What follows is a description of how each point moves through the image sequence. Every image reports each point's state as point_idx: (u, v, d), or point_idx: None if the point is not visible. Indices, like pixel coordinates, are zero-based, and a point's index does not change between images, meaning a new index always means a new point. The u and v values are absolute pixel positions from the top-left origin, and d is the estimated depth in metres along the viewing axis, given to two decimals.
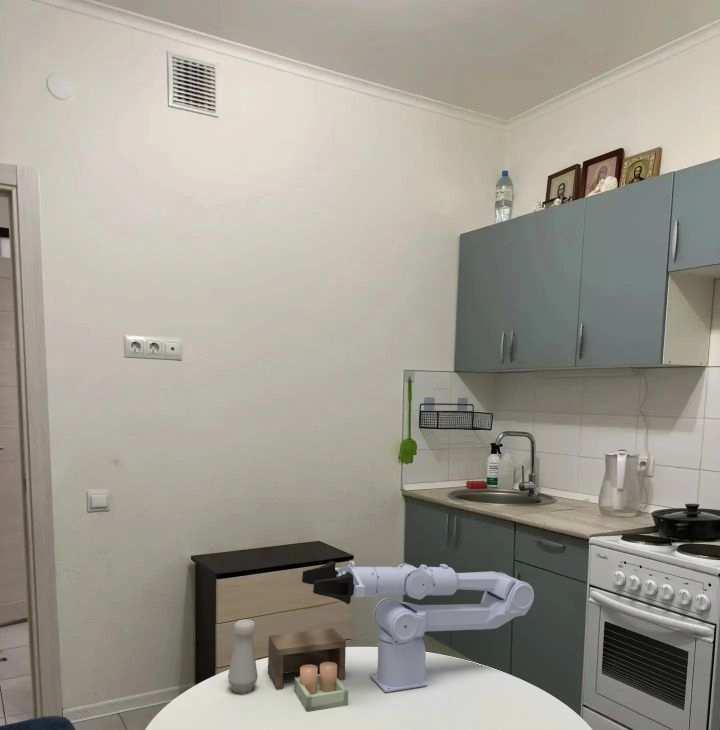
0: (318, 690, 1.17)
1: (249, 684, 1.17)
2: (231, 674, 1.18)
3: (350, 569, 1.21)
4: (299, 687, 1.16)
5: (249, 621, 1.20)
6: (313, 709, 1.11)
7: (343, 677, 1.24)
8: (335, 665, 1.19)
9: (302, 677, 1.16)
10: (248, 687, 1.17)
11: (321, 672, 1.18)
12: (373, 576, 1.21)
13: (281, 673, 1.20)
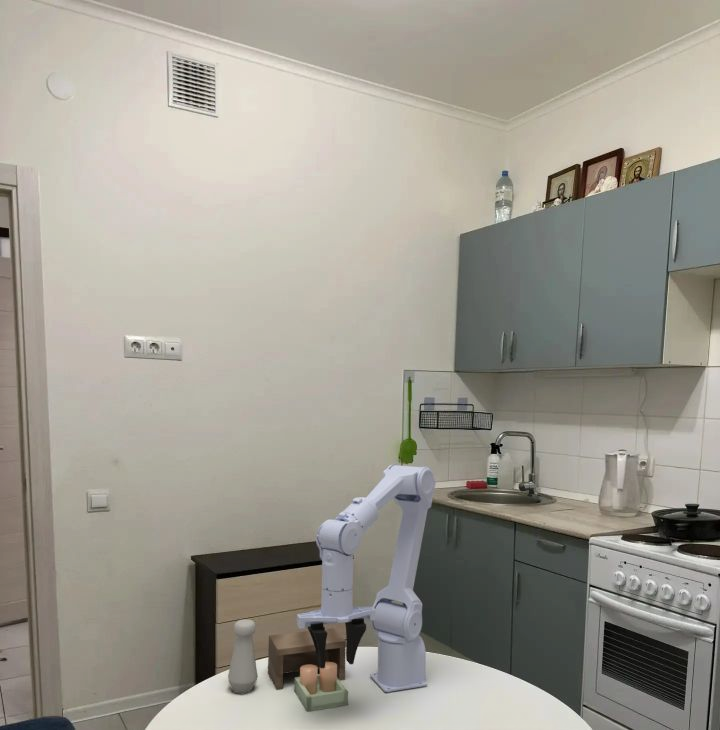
0: (318, 690, 1.17)
1: (249, 684, 1.17)
2: (231, 674, 1.18)
3: None
4: (299, 687, 1.16)
5: (249, 621, 1.20)
6: (313, 709, 1.11)
7: (343, 677, 1.24)
8: (335, 665, 1.19)
9: (302, 677, 1.16)
10: (248, 687, 1.17)
11: (321, 672, 1.18)
12: (352, 592, 1.10)
13: (281, 673, 1.20)
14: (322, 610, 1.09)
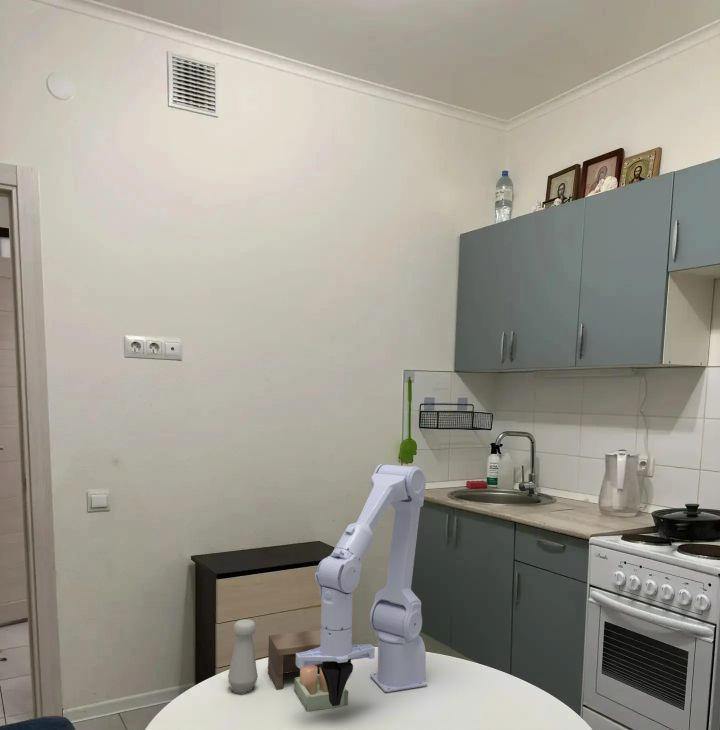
0: (318, 690, 1.17)
1: (249, 684, 1.17)
2: (231, 674, 1.18)
3: None
4: (299, 687, 1.16)
5: (249, 621, 1.20)
6: (313, 709, 1.11)
7: None
8: None
9: (302, 677, 1.16)
10: (248, 687, 1.17)
11: (321, 672, 1.18)
12: (351, 630, 1.09)
13: (281, 673, 1.20)
14: (321, 649, 1.08)
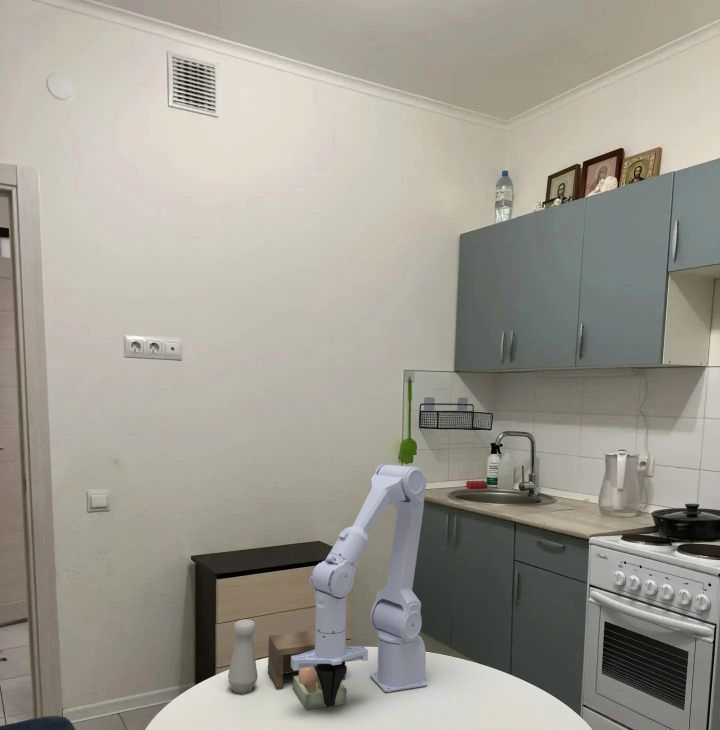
0: (317, 689, 1.18)
1: (249, 684, 1.17)
2: (231, 674, 1.18)
3: None
4: (298, 686, 1.16)
5: (249, 621, 1.20)
6: (312, 707, 1.12)
7: None
8: None
9: (300, 676, 1.17)
10: (248, 687, 1.17)
11: None
12: (345, 633, 1.12)
13: (281, 673, 1.20)
14: (315, 652, 1.11)
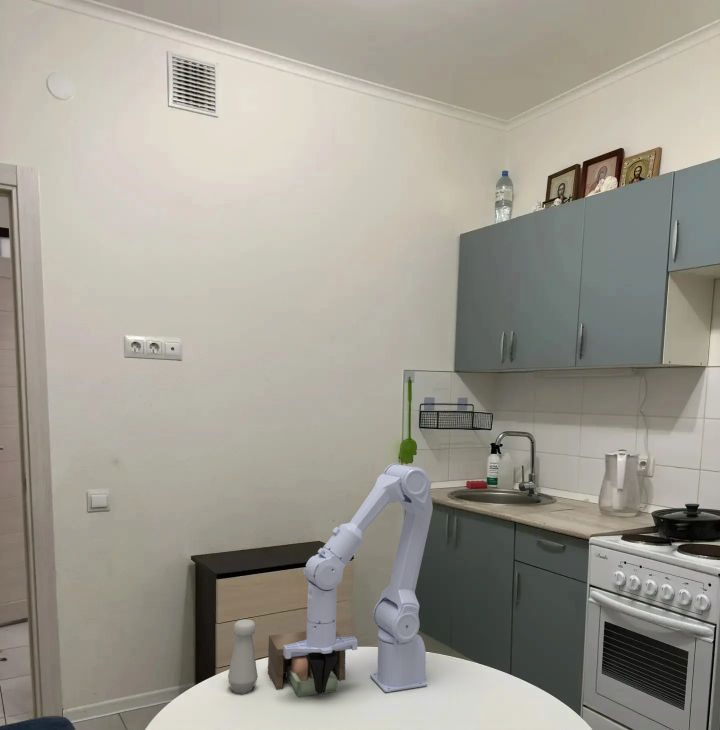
0: (309, 677, 1.23)
1: (249, 684, 1.17)
2: (231, 674, 1.18)
3: None
4: (290, 674, 1.21)
5: (249, 621, 1.20)
6: (303, 695, 1.17)
7: (343, 677, 1.24)
8: None
9: (293, 665, 1.22)
10: (248, 687, 1.17)
11: None
12: (335, 624, 1.17)
13: (281, 673, 1.20)
14: (307, 641, 1.16)
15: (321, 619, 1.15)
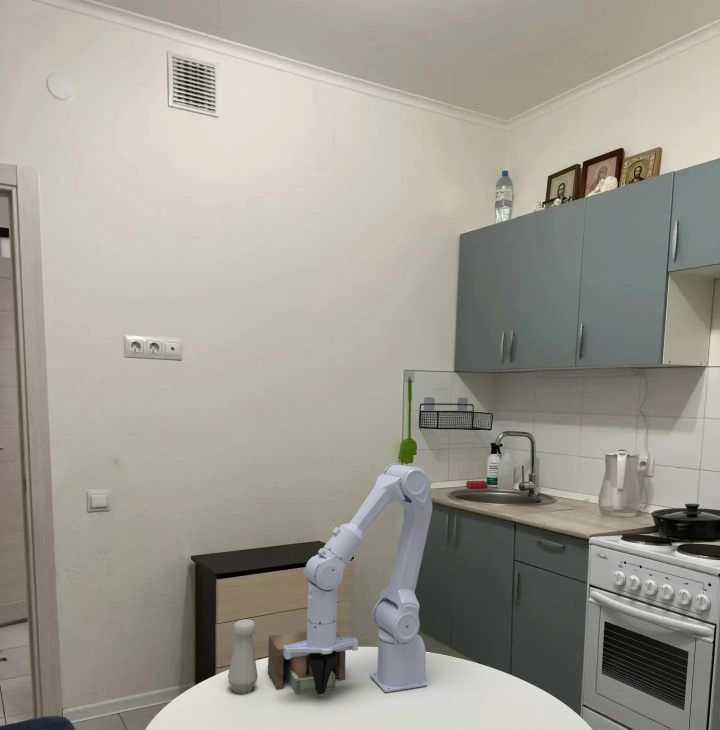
0: (307, 675, 1.24)
1: (249, 684, 1.17)
2: (231, 674, 1.18)
3: None
4: (289, 672, 1.23)
5: (249, 621, 1.20)
6: (302, 692, 1.18)
7: (343, 677, 1.24)
8: None
9: (291, 662, 1.23)
10: (248, 687, 1.17)
11: None
12: (335, 624, 1.17)
13: (281, 673, 1.20)
14: (307, 641, 1.16)
15: (322, 619, 1.15)
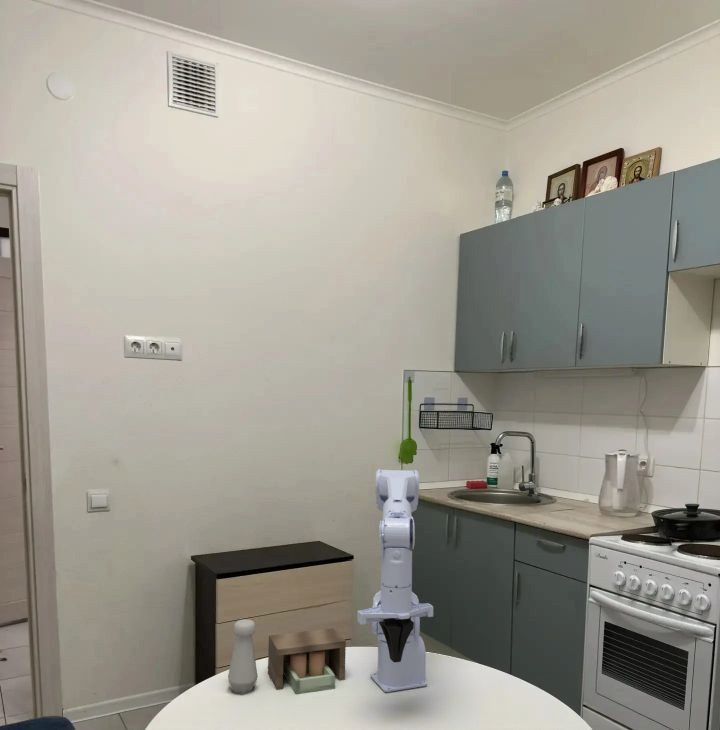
0: (307, 675, 1.24)
1: (249, 684, 1.17)
2: (231, 674, 1.18)
3: None
4: (289, 672, 1.23)
5: (249, 621, 1.20)
6: (302, 692, 1.18)
7: (343, 677, 1.24)
8: (323, 651, 1.26)
9: (291, 662, 1.23)
10: (248, 687, 1.17)
11: (310, 658, 1.24)
12: (411, 589, 1.11)
13: (281, 673, 1.20)
14: (381, 607, 1.10)
15: (410, 581, 1.10)
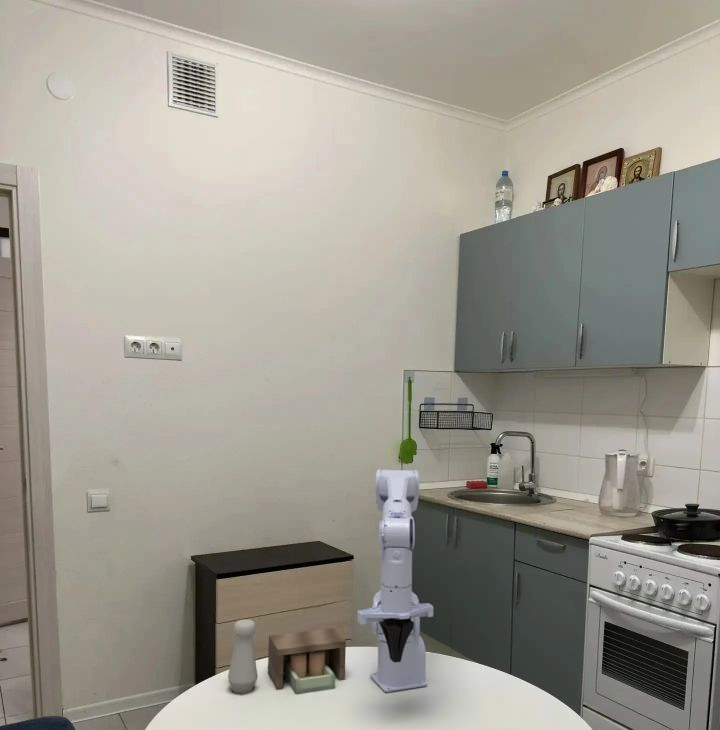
0: (307, 675, 1.24)
1: (249, 684, 1.17)
2: (231, 674, 1.18)
3: None
4: (289, 672, 1.23)
5: (249, 621, 1.20)
6: (302, 692, 1.18)
7: (343, 677, 1.24)
8: (323, 651, 1.26)
9: (291, 662, 1.23)
10: (248, 687, 1.17)
11: (310, 658, 1.24)
12: (411, 589, 1.11)
13: (281, 673, 1.20)
14: (381, 607, 1.10)
15: (410, 581, 1.10)
